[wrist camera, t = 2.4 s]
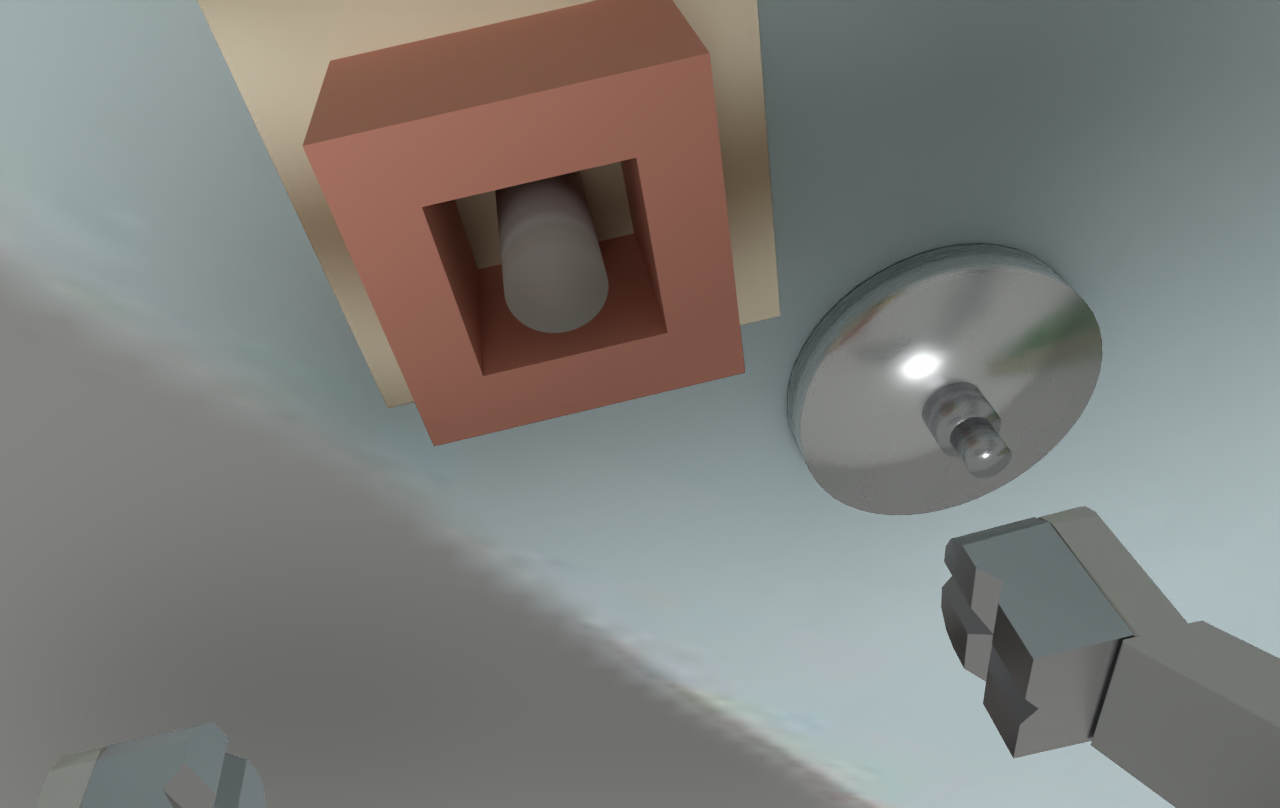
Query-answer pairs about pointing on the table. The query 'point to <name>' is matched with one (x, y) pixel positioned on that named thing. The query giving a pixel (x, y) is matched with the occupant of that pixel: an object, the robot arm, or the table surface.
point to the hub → (942, 379)
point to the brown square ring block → (520, 153)
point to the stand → (509, 217)
